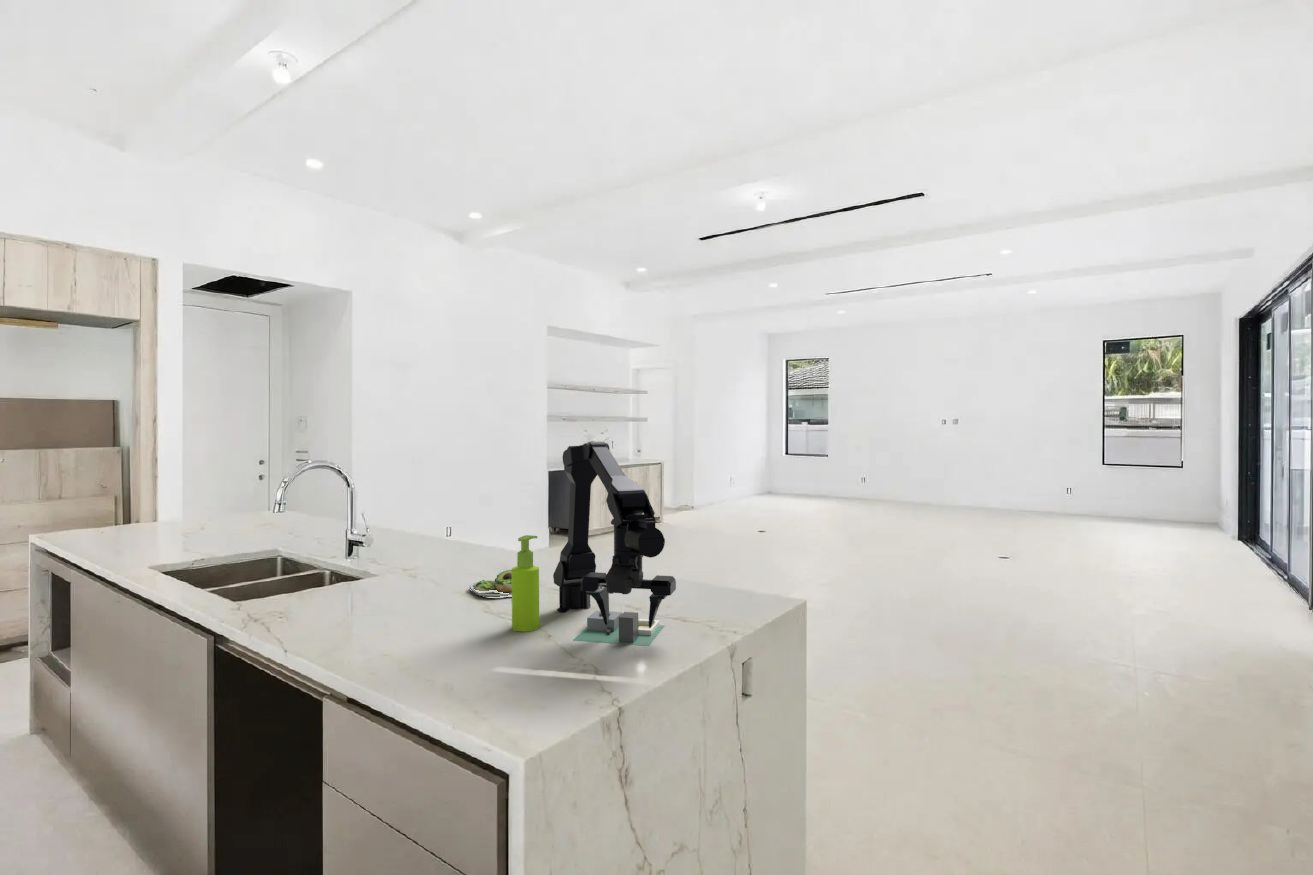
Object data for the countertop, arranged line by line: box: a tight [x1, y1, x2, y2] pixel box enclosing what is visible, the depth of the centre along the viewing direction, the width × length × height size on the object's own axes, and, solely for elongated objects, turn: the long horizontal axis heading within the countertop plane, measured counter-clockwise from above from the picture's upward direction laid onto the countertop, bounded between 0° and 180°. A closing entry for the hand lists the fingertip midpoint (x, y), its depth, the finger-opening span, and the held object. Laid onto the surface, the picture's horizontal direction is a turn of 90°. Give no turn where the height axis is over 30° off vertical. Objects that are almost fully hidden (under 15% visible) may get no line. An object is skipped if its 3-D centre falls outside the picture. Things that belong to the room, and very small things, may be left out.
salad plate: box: [469, 569, 512, 597], centre depth 186 cm, size 19×18×5 cm
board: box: [572, 610, 665, 647], centre depth 146 cm, size 16×14×4 cm
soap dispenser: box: [511, 534, 540, 632], centre depth 153 cm, size 6×7×20 cm
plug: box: [619, 611, 639, 643], centre depth 142 cm, size 3×5×5 cm, turn 166°
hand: (628, 625), depth 142 cm, fingers open, 9 cm apart
